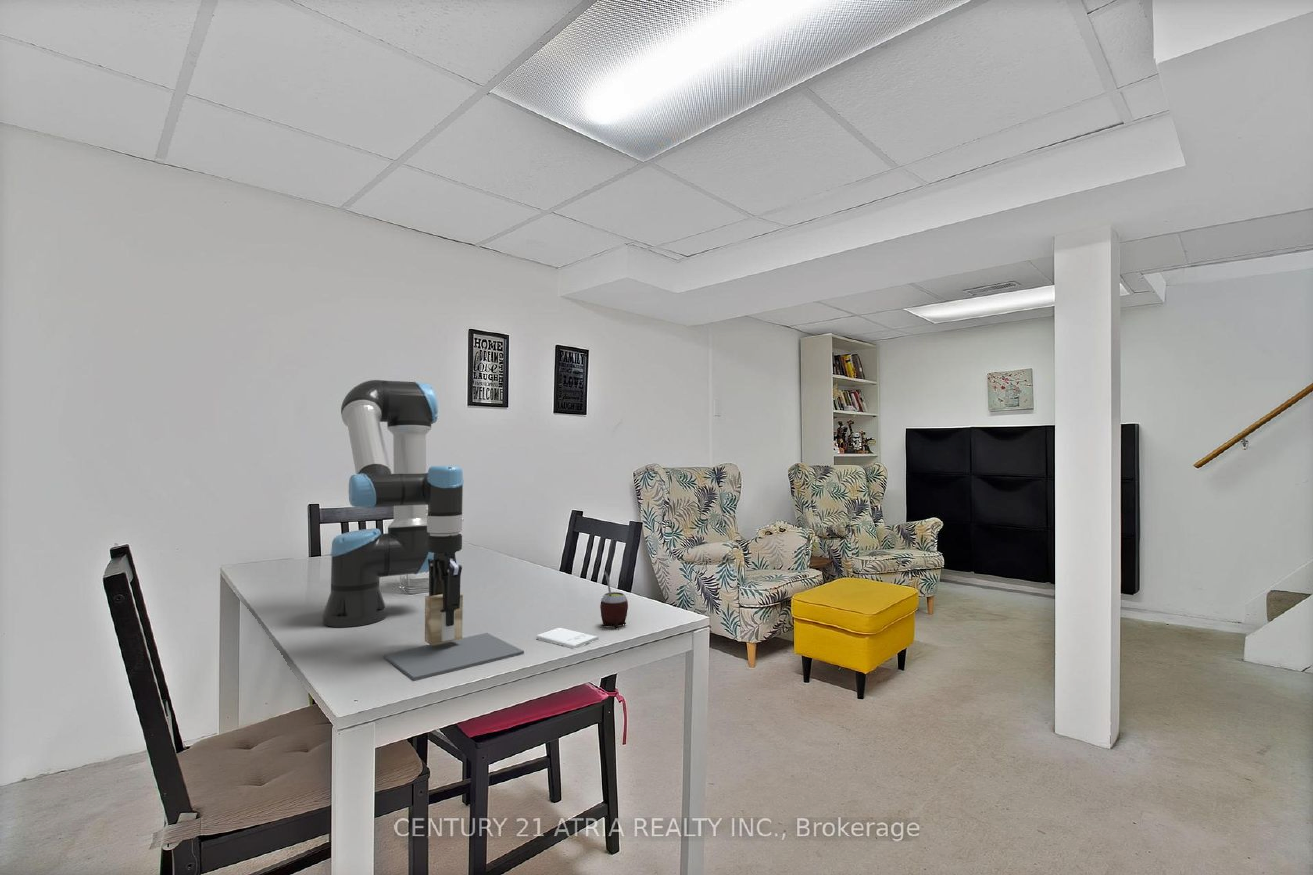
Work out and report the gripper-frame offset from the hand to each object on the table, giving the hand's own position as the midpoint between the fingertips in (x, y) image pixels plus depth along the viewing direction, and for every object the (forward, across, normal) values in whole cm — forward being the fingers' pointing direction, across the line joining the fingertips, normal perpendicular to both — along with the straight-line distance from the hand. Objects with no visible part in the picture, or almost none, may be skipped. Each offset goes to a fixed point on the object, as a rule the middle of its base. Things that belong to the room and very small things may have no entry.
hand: (443, 637), depth 137 cm
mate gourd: (+3, -11, -40) cm, 42 cm away
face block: (+1, 0, 0) cm, 1 cm away
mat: (+3, -6, 0) cm, 7 cm away
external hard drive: (+3, -13, -25) cm, 28 cm away
